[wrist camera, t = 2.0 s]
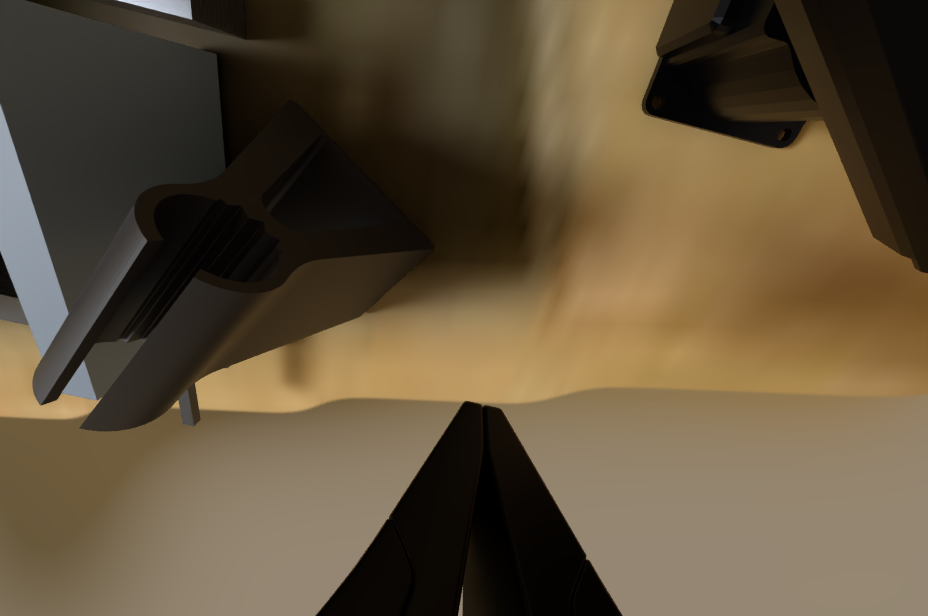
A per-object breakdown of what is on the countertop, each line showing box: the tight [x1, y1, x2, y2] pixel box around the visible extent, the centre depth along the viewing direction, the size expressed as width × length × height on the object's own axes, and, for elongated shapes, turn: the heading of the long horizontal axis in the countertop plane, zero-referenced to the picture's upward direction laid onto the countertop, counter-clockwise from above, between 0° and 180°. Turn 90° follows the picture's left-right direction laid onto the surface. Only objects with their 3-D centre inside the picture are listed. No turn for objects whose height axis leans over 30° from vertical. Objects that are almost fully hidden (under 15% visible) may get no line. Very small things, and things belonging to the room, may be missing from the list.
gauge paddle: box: [0, 0, 226, 426], centre depth 15 cm, size 2×18×8 cm, turn 167°
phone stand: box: [33, 100, 434, 431], centre depth 13 cm, size 9×6×12 cm, turn 42°
